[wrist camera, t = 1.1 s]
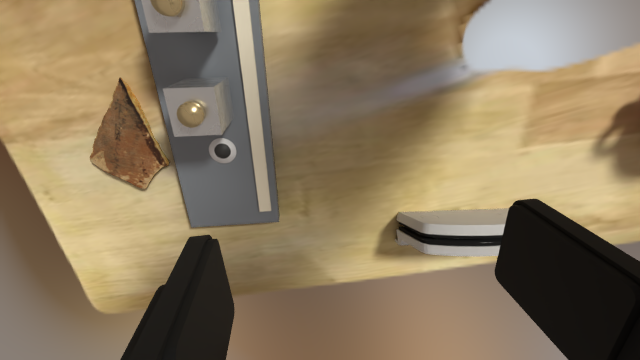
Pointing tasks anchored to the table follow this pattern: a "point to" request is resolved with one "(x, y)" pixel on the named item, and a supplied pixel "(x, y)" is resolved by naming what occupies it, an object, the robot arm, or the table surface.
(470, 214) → the grey layered slab
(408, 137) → the table surface
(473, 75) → the table surface
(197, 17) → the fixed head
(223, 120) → the block
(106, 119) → the shard
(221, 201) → the hole plate
